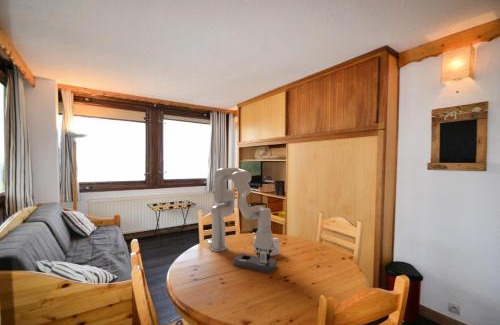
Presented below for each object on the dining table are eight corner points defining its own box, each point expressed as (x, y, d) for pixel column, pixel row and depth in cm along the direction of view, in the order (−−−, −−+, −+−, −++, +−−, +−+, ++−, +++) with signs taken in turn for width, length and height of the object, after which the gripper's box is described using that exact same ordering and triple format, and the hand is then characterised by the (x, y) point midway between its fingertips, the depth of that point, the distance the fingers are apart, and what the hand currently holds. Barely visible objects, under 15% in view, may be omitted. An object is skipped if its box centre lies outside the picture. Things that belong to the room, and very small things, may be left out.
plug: (259, 268, 136) (259, 250, 136) (262, 265, 141) (262, 248, 141) (265, 270, 135) (265, 252, 135) (268, 266, 139) (268, 249, 139)
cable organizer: (272, 249, 167) (272, 233, 167) (280, 255, 157) (280, 238, 157) (253, 253, 160) (253, 236, 160) (260, 258, 151) (260, 241, 151)
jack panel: (233, 265, 141) (233, 258, 141) (241, 259, 150) (241, 252, 150) (270, 273, 131) (270, 266, 131) (276, 266, 140) (276, 259, 140)
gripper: (249, 228, 138) (248, 259, 138) (275, 232, 131) (275, 264, 131) (254, 225, 145) (253, 254, 145) (279, 229, 138) (279, 259, 138)
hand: (264, 259), depth 138 cm, fingers closed on plug, 4 cm apart
